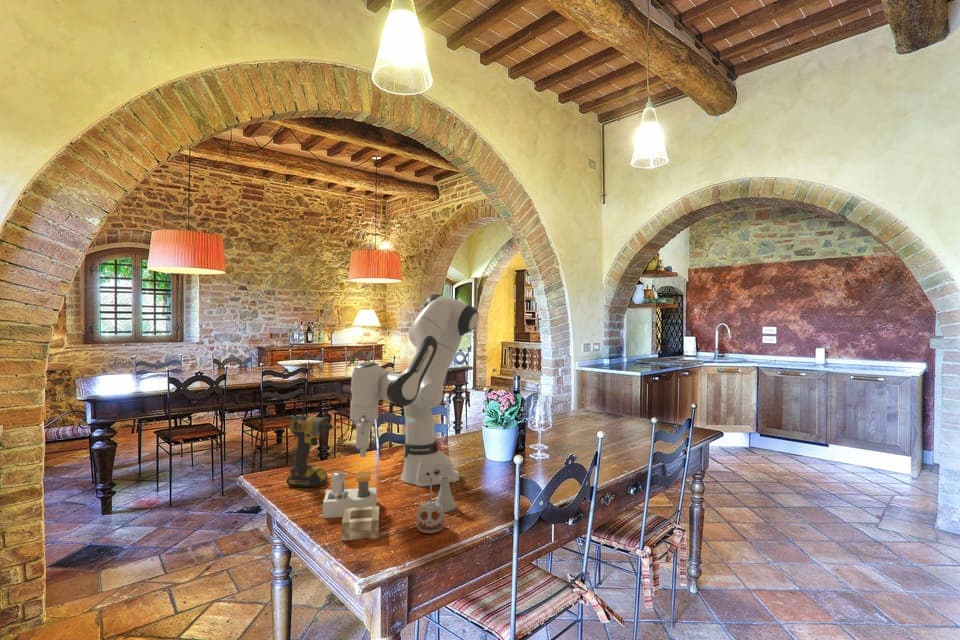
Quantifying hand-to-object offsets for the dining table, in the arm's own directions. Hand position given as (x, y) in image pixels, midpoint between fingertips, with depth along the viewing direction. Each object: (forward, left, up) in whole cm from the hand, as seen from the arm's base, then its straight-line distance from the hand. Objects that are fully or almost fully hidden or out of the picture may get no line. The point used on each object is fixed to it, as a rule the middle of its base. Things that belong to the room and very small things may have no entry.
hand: (363, 455), depth 152 cm
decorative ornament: (-20, +18, -18) cm, 32 cm away
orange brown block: (0, 0, -13) cm, 13 cm away
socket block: (+4, 0, -17) cm, 18 cm away
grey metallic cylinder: (+8, 0, -17) cm, 19 cm away
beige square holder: (0, +16, -17) cm, 24 cm away
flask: (-26, +4, -18) cm, 32 cm away
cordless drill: (+19, -26, -18) cm, 37 cm away
